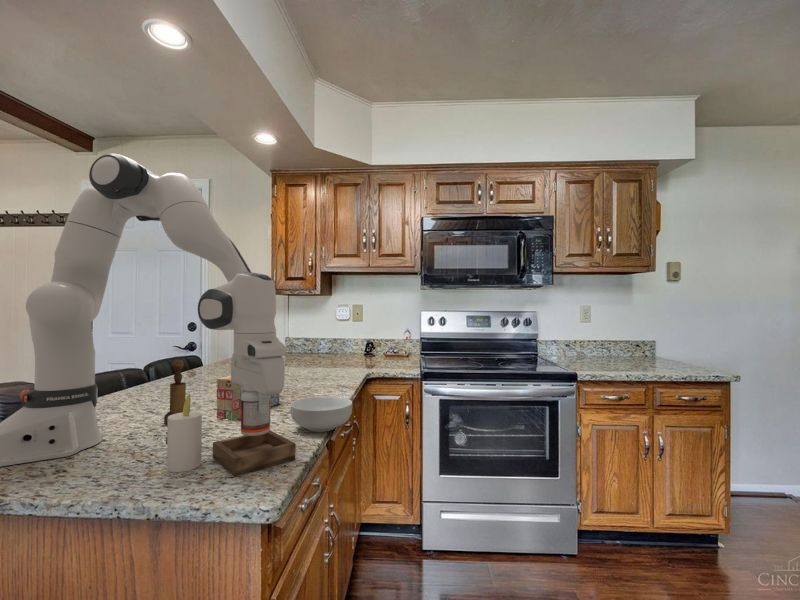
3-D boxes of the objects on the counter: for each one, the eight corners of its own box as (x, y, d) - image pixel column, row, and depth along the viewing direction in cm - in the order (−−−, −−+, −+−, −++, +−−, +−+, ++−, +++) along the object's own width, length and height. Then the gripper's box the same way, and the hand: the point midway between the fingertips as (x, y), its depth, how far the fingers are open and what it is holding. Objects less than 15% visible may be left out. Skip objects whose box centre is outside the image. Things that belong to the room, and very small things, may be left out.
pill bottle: (247, 428, 90) (247, 378, 90) (274, 427, 90) (274, 377, 90) (236, 436, 84) (236, 383, 84) (265, 436, 84) (265, 383, 84)
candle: (170, 462, 85) (171, 391, 85) (204, 458, 87) (204, 390, 87) (161, 473, 79) (162, 398, 79) (197, 470, 81) (198, 396, 81)
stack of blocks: (265, 403, 138) (265, 367, 138) (279, 404, 136) (280, 368, 136) (216, 419, 118) (216, 377, 118) (232, 421, 116) (232, 379, 116)
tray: (234, 476, 77) (234, 458, 77) (212, 458, 87) (212, 442, 87) (295, 459, 86) (295, 443, 86) (269, 444, 96) (269, 429, 96)
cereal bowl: (326, 441, 98) (326, 412, 98) (276, 431, 106) (277, 405, 106) (364, 423, 113) (364, 399, 113) (318, 416, 121) (318, 393, 121)
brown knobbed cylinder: (194, 421, 115) (195, 359, 116) (171, 427, 110) (172, 361, 110) (182, 417, 119) (182, 357, 119) (159, 423, 113) (160, 360, 114)
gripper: (223, 343, 93) (223, 402, 92) (260, 350, 78) (260, 421, 77) (250, 341, 97) (250, 398, 97) (290, 347, 82) (290, 415, 82)
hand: (255, 408), depth 87 cm, fingers closed on pill bottle, 6 cm apart
